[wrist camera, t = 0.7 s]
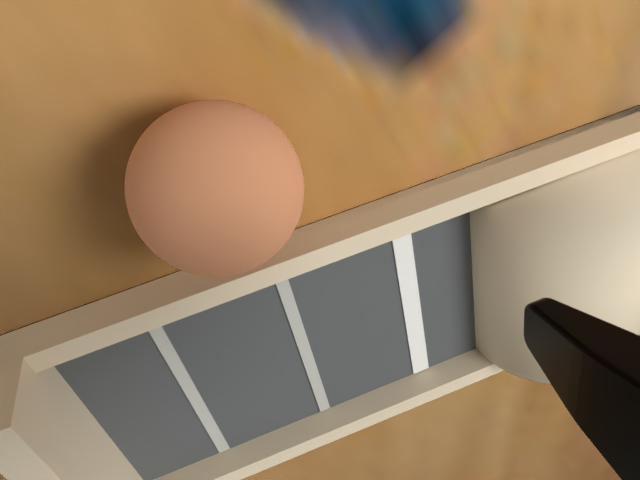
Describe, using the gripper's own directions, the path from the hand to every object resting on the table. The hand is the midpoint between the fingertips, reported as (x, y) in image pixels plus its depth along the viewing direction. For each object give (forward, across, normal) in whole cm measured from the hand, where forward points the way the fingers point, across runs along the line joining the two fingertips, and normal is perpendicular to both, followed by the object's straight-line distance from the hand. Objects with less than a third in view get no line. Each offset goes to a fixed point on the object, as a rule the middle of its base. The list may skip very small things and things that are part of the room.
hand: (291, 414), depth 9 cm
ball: (+11, 0, 0) cm, 11 cm away
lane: (+14, -4, +9) cm, 17 cm away
